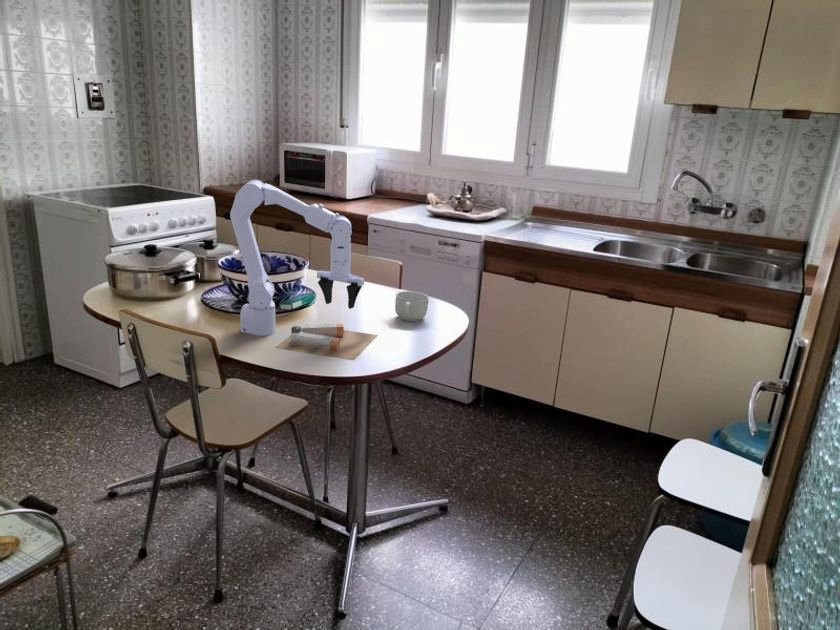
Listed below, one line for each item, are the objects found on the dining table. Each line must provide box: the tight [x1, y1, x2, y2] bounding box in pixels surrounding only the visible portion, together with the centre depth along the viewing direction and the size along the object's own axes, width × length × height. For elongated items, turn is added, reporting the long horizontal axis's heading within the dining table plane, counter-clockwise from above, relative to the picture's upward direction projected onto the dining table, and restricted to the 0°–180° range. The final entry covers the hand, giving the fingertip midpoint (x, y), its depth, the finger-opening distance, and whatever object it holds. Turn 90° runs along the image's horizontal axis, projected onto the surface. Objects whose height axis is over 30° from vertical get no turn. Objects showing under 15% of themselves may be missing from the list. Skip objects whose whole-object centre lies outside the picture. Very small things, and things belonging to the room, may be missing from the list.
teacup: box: [394, 290, 430, 322], centre depth 198 cm, size 14×11×8 cm
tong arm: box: [300, 323, 345, 337], centre depth 177 cm, size 12×2×3 cm, turn 105°
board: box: [275, 329, 379, 361], centre depth 175 cm, size 23×20×1 cm
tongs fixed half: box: [290, 325, 340, 351], centre depth 171 cm, size 15×4×4 cm, turn 75°
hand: (339, 305), depth 179 cm, fingers open, 7 cm apart
